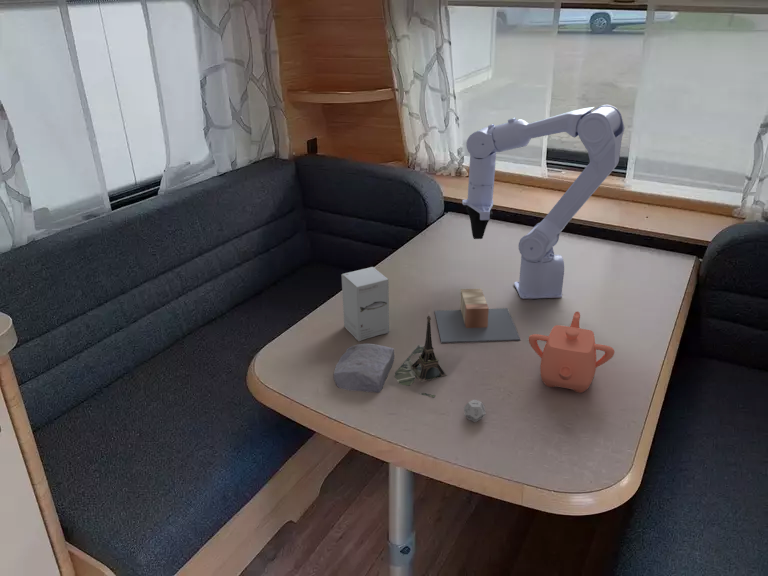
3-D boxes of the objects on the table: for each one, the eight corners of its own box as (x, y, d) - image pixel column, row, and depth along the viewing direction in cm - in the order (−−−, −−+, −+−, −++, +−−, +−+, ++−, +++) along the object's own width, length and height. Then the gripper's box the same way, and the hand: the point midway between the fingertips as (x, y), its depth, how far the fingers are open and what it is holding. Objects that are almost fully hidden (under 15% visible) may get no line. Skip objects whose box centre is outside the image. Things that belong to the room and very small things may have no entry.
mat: (507, 309, 138) (507, 308, 138) (520, 340, 127) (520, 339, 126) (434, 311, 138) (434, 310, 138) (441, 343, 126) (441, 341, 126)
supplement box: (358, 342, 127) (355, 287, 122) (343, 326, 133) (340, 272, 127) (390, 333, 130) (389, 278, 125) (374, 318, 136) (372, 265, 130)
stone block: (332, 397, 114) (384, 394, 111) (326, 375, 113) (379, 371, 110) (351, 363, 125) (399, 360, 122) (345, 342, 123) (394, 338, 120)
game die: (465, 409, 107) (465, 395, 106) (487, 413, 106) (487, 398, 105) (461, 422, 104) (462, 408, 103) (483, 426, 103) (484, 411, 102)
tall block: (481, 288, 137) (488, 308, 129) (480, 306, 139) (487, 327, 131) (460, 289, 137) (466, 309, 129) (460, 307, 139) (466, 328, 131)
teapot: (618, 394, 110) (627, 345, 105) (559, 409, 107) (565, 358, 102) (572, 353, 122) (578, 307, 117) (518, 365, 119) (521, 318, 114)
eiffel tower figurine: (418, 346, 126) (418, 287, 120) (465, 358, 122) (468, 297, 116) (384, 386, 114) (382, 323, 108) (435, 401, 110) (436, 336, 104)
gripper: (459, 173, 148) (456, 226, 154) (468, 193, 135) (465, 250, 142) (489, 172, 148) (485, 226, 155) (500, 192, 135) (496, 250, 142)
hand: (477, 237), depth 148 cm, fingers closed
